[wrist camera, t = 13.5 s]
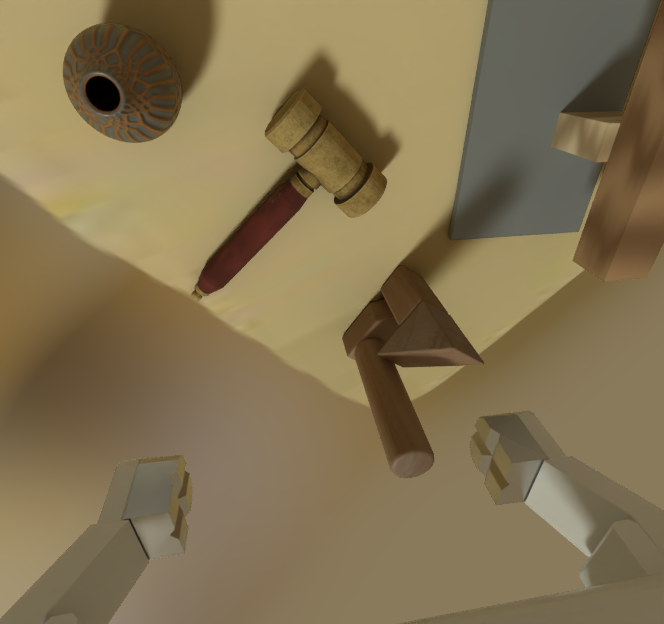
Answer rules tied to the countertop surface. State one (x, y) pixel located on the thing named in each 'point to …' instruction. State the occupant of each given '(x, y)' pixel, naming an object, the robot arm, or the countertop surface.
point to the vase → (122, 82)
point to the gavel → (298, 185)
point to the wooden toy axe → (404, 362)
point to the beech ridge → (587, 133)
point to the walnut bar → (631, 181)
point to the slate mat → (541, 110)
